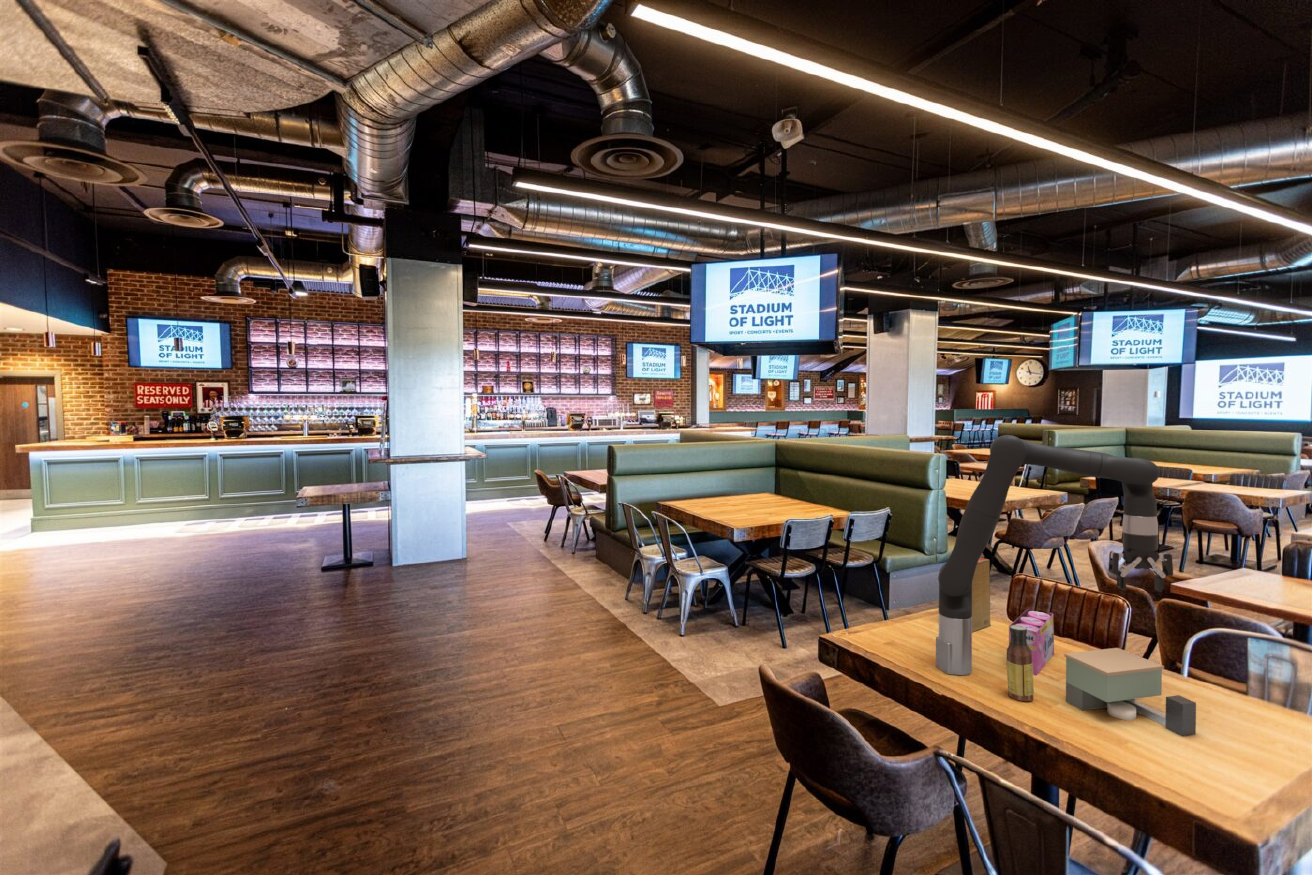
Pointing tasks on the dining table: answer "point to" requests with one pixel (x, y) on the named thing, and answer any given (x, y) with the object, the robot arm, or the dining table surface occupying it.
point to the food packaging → (981, 595)
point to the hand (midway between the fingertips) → (1140, 590)
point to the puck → (1121, 710)
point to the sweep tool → (1172, 714)
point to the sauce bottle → (1019, 665)
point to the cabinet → (1109, 677)
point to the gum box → (1037, 636)
